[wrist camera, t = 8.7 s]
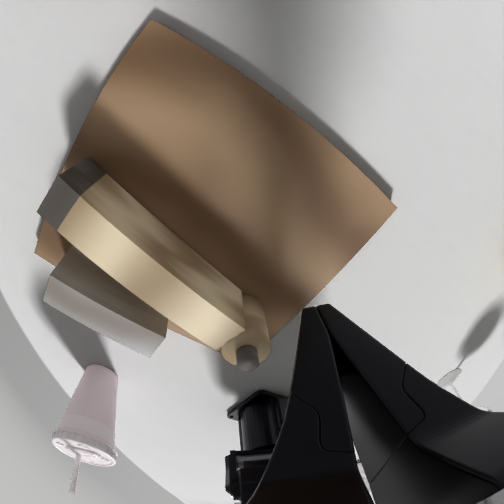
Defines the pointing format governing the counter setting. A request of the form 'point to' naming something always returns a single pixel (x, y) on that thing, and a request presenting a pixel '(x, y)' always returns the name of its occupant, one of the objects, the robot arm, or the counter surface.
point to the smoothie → (90, 421)
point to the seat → (213, 190)
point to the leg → (153, 261)
